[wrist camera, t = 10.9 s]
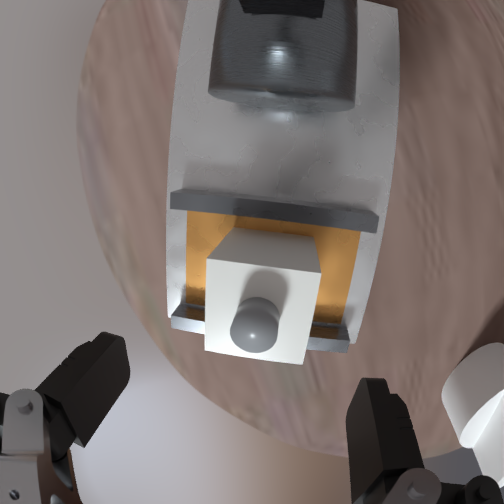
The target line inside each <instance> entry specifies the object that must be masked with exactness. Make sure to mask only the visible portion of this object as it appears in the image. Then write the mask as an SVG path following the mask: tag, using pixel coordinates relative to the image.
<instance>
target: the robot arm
mask: <svg viewBox="0 0 504 504" xmlns="http://www.w3.org/2000/svg"><path fill="white" fill-rule="evenodd" d="M129 378H130V366H129V361H128V356H127V350H126V345H125V340H124V338H123V337H121V336H118V335H114V334H111V333H107V332H101V333H100V334H99V335H98V336H97V337H96V338H95V339H94V340H93V341H92V342H90V341H88V342H86V343H84V344H82V345H80V346H78V347H77V348H76V349H74V351H72V353H70V354H69V355H68V358H66V359H65V360H64V361H63V362H62V363H61V365H59V366H58V367H57V368H56V369H55V370H54V371H53V372H52V373H51V374H50V375H49V376H48V377H47V378H46V379H45V380H44V381H43V382H42V383H41V384H40V385H39V386H38V387H37V388H36V389H35V390H31V389H20V390H17V391H15V392H14V393H12V394H11V395H8V394H4V393H0V504H83V503H82V501H81V499H80V496H79V493H78V489H77V484H76V479H75V473H74V468H73V462H72V455H71V450H70V446H71V445H72V443H73V442H74V443H76V444H78V445H80V446H81V447H84V448H85V446H86V445H87V443H88V442H89V440H90V439H91V437H92V436H93V434H94V433H95V431H96V430H97V428H98V427H99V425H100V424H101V422H102V421H103V419H104V418H105V416H106V415H107V413H108V412H109V410H110V409H111V407H112V406H113V405H114V403H115V402H116V400H117V399H118V397H119V396H120V394H121V393H122V391H123V390H124V389H125V387H126V386H127V384H128V381H129ZM346 432H347V443H348V454H349V466H350V482H351V499H352V500H351V501H352V504H504V503H503V499H502V495H501V492H500V488H499V485H498V483H497V482H496V481H495V480H494V479H493V478H491V477H489V476H485V475H480V476H477V477H475V478H473V479H472V480H470V481H469V482H468V483H467V484H466V485H460V484H450V483H442V482H440V480H439V479H438V477H437V476H436V475H435V474H434V473H433V472H431V471H430V470H427V469H425V468H424V465H423V461H422V457H421V453H420V450H419V446H418V442H417V439H416V435H415V432H414V429H413V425H412V422H411V419H410V416H409V412H408V409H407V406H406V404H405V403H404V402H403V400H402V399H401V398H400V397H399V396H398V394H390V392H389V388H388V385H387V382H386V380H385V379H384V378H362V379H361V380H360V382H359V385H358V387H357V389H356V392H355V394H354V396H353V399H352V401H351V403H350V406H349V408H348V411H347V415H346Z"/></svg>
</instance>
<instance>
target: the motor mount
mask: <svg viewBox="0 0 504 504" xmlns="http://www.w3.org/2000/svg"><path fill="white" fill-rule="evenodd" d="M399 79H400V50H399V23H398V9H396V8H393V7H389V6H385V5H381V4H377V3H373V2H369V1H364V0H188V5H187V10H186V16H185V21H184V27H183V33H182V39H181V45H180V52H179V59H178V66H177V74H176V82H175V91H174V100H173V110H172V120H171V132H170V146H169V162H168V182H167V213H166V272H167V303H168V317H169V318H171V327H172V328H176V329H180V330H185V331H190V332H196V333H201V334H205V292H206V260H207V257H208V256H209V255H210V254H211V253H212V251H213V250H214V249H215V248H216V247H217V246H218V244H219V243H220V242H221V241H222V240H223V239H224V238H225V236H226V235H227V234H228V233H229V232H230V231H231V229H232V228H233V227H236V228H245V229H254V230H262V231H270V232H278V233H286V234H294V235H302V236H310V237H314V241H315V245H316V250H317V254H318V259H319V264H320V268H321V279H320V284H319V290H318V295H317V300H316V305H315V310H314V315H313V320H312V324H311V329H310V334H309V338H308V343H307V347H306V349H310V350H320V351H331V352H342V353H347V350H348V347H349V343H353V344H355V342H356V339H357V336H358V333H359V329H360V326H361V322H362V319H363V315H364V312H365V308H366V304H367V301H368V297H369V293H370V289H371V285H372V281H373V277H374V273H375V268H376V264H377V259H378V255H379V250H380V245H381V240H382V235H383V230H384V225H385V219H386V213H387V207H388V201H389V195H390V188H391V181H392V173H393V165H394V156H395V147H396V136H397V123H398V107H399Z"/></svg>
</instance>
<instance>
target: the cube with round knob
mask: <svg viewBox="0 0 504 504" xmlns="http://www.w3.org/2000/svg"><path fill="white" fill-rule="evenodd" d="M320 279H321V268H320V264H319V259H318V254H317V250H316V245H315V241H314V237H310V236H302V235H294V234H286V233H278V232H270V231H262V230H254V229H245V228H236V227H233V228H232V229H231V231H230V232H229V233H228V234H227V235H226V236H225V238H224V239H223V240H222V241H221V242H220V243H219V244H218V246H217V247H216V248H215V249H214V250H213V251H212V253H211V254H210V255H209V256H208V257H207V260H206V292H205V350H207V351H213V352H218V353H224V354H229V355H235V356H242V357H248V358H255V359H261V360H269V361H276V362H284V363H292V364H301V365H302V364H303V360H304V356H305V352H306V347H307V343H308V338H309V334H310V329H311V324H312V320H313V315H314V310H315V305H316V300H317V295H318V290H319V284H320Z"/></svg>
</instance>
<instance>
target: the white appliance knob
mask: <svg viewBox="0 0 504 504" xmlns="http://www.w3.org/2000/svg"><path fill="white" fill-rule="evenodd" d="M442 402H443V404H444V406H445V409H446V411H447V413H448V415H449V418H450V420H451V422H452V425H453V427H454V430H455V432H456V434H457V437H458V439H459V442H460V444H461V445H462V446H463V447H466V448H473V451H474V453H475V455H476V458H477V460H478V463H479V466H480V469H481V471H482V474H483V475H485V476H489V477H491V478H493V479H494V480H495V481H496V482H497V483H498V485H499V488H500V487H502V486H504V344H502V343H499V342H497V343H490V344H487V345H485V346H482V347H480V348H479V349H477V350H475V351H474V352H472V353H471V354H469V355H468V356H467V357H466V358H465V359H463V360H462V361H461V362H460V363H459V364H458V366H457V367H456V368H455V369H454V370H453V371H452V373H451V374H450V376H449V377H448V378H447V380H446V383H445V385H444V387H443V390H442Z"/></svg>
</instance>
